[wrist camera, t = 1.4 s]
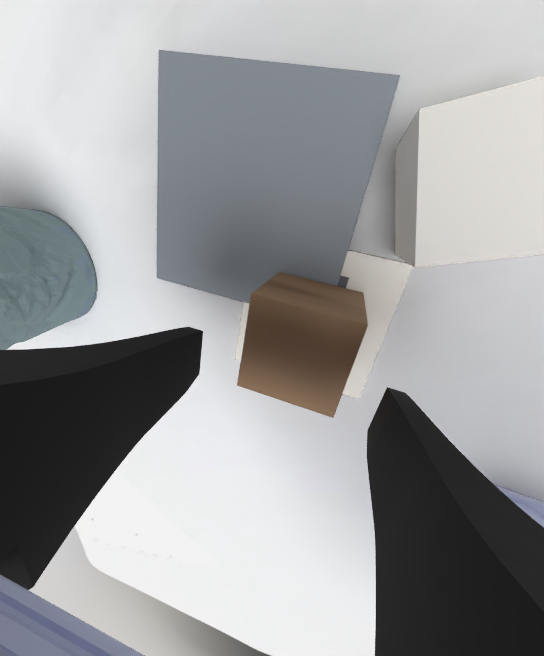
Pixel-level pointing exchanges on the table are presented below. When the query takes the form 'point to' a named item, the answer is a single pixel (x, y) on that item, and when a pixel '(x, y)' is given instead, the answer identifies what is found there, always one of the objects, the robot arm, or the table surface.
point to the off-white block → (472, 178)
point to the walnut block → (302, 341)
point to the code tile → (380, 301)
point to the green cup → (40, 275)
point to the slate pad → (261, 168)
